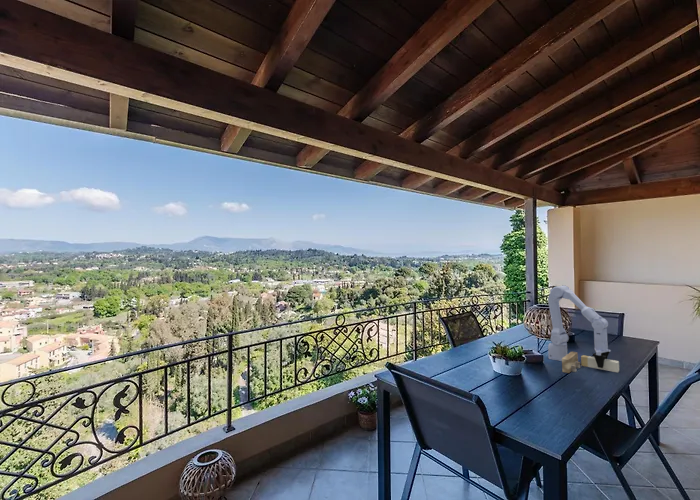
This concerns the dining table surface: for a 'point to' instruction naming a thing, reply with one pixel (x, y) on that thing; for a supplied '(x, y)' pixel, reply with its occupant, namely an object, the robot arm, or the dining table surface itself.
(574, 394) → the dining table surface
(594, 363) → the rail
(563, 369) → the post
